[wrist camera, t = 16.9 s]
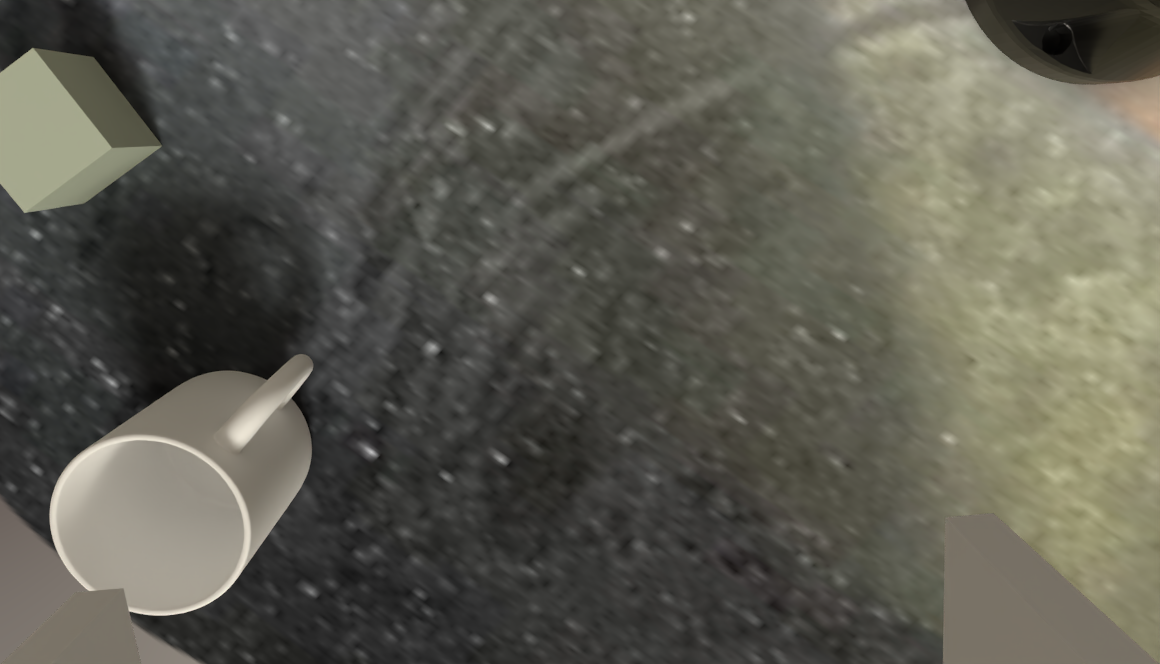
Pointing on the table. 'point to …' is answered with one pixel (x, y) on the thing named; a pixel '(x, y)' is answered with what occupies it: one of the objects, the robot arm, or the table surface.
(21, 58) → the sage block
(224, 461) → the cup
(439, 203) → the table surface
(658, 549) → the table surface
